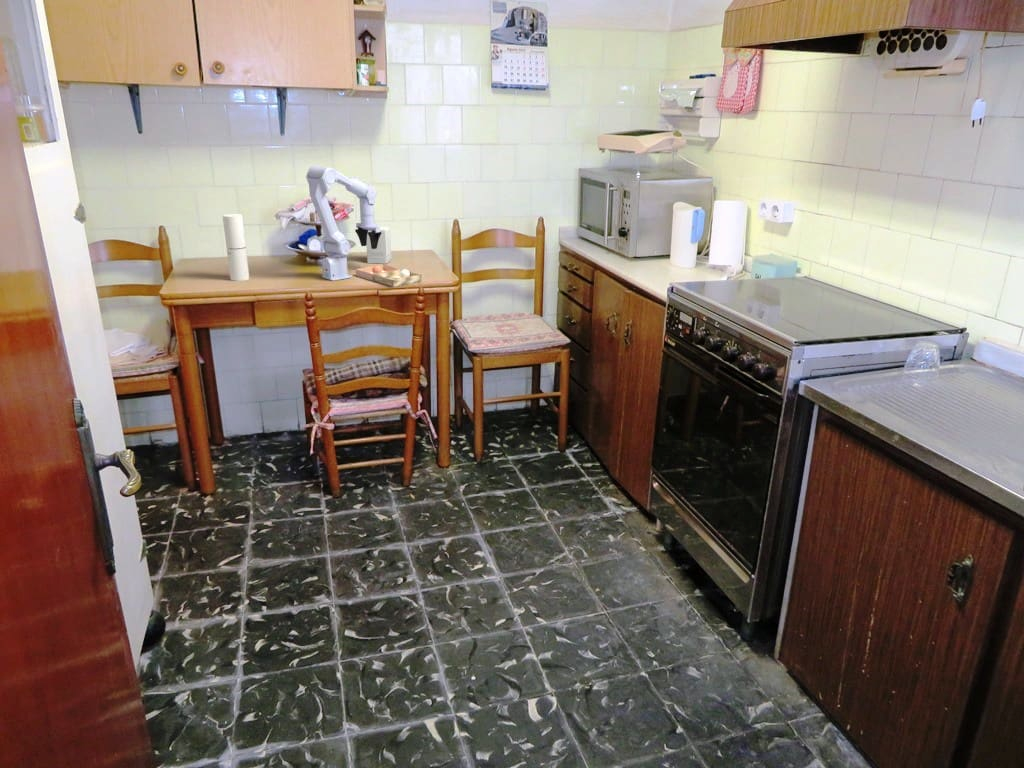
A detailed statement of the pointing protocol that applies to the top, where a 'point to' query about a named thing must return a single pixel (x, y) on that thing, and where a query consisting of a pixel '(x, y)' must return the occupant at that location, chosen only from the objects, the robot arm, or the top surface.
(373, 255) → the supplement box
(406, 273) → the cream ball
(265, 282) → the top surface
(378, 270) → the terracotta ball
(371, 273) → the peach open box
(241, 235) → the cylindrical container
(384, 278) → the box
